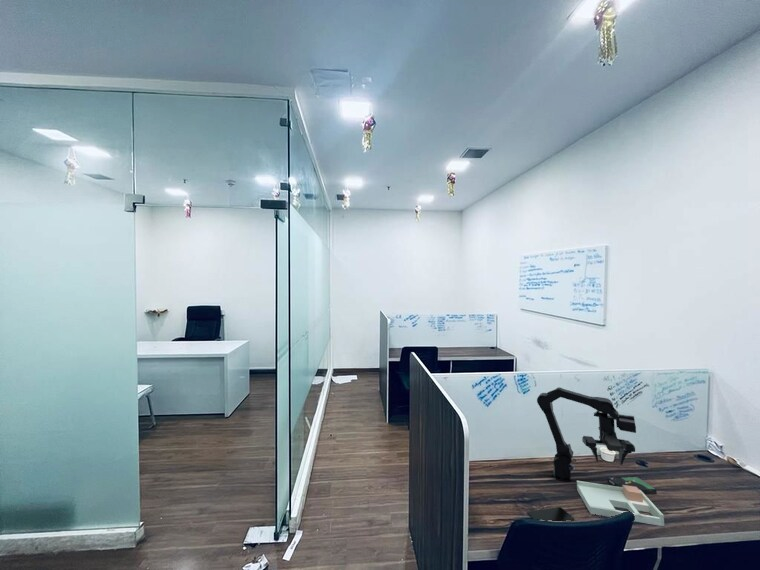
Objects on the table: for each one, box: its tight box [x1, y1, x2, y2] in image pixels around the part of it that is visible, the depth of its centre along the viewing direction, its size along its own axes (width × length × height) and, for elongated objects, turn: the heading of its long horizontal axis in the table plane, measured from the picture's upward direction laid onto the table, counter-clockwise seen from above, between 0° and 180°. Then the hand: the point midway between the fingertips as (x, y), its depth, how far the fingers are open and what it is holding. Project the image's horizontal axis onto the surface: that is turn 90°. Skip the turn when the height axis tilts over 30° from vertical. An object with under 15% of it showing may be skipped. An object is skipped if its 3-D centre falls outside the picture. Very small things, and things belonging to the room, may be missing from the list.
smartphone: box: [526, 506, 576, 522], centre depth 121 cm, size 8×1×16 cm
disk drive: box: [606, 476, 658, 495], centre depth 140 cm, size 10×3×15 cm
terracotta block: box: [622, 485, 643, 502], centre depth 129 cm, size 5×5×4 cm
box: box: [576, 480, 665, 527], centre depth 127 cm, size 24×17×4 cm
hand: (608, 463), depth 139 cm, fingers open, 9 cm apart
